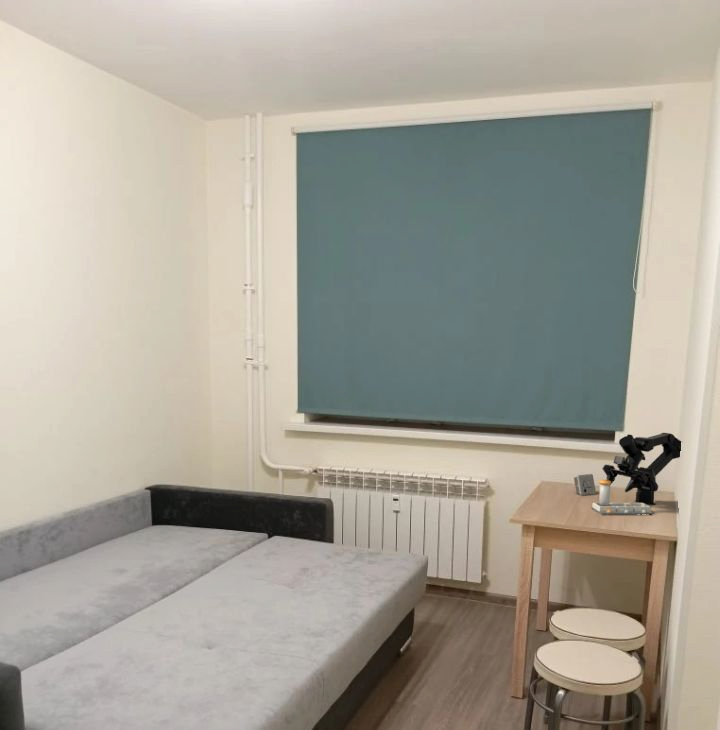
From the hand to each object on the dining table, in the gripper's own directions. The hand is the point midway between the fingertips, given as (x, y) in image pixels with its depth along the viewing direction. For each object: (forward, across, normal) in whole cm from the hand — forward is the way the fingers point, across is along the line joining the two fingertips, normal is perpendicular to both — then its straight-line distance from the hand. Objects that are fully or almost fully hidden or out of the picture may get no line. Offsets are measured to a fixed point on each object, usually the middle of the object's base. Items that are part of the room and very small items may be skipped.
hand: (615, 489), depth 280 cm
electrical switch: (-3, -25, +15) cm, 30 cm away
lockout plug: (+11, 0, 0) cm, 11 cm away
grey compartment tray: (+7, +4, +5) cm, 10 cm away
